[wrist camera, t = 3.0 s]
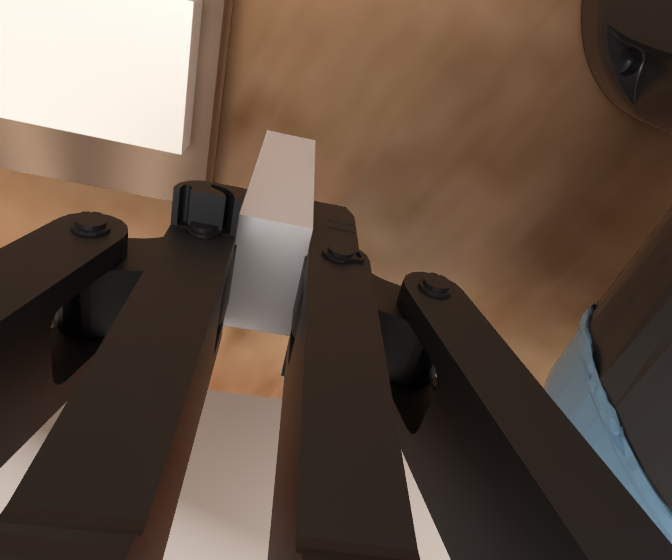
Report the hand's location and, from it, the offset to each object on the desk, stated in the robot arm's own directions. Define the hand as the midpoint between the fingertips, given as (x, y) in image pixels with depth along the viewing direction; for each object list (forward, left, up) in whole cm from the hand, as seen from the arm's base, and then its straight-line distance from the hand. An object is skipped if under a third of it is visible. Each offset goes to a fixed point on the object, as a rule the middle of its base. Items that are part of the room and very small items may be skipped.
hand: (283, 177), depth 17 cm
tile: (+10, 0, -12) cm, 16 cm away
